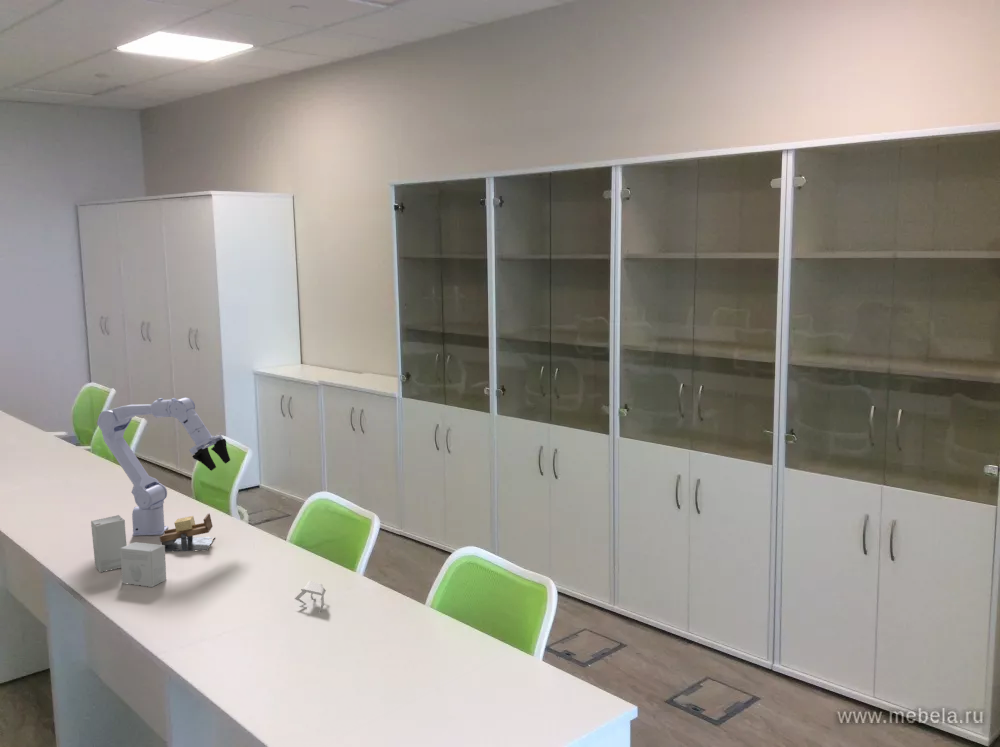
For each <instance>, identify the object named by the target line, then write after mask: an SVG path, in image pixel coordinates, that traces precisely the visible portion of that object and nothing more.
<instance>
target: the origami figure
mask: <svg viewBox="0 0 1000 747" xmlns="http://www.w3.org/2000/svg"><path fill="white" fill-rule="evenodd" d="M300 590H301V592H300V593H298V594H297V596H295V597H294V600H296V601H298V602H300V603H301V605H300V606H299V608H303V607H305V606H306V605H307V603H306V602H305V601H303V600H302V599H300V598H301V597H303V596H304V595H305V594H306V593H309V594H310V598H311V597H313V595H317V596H321V598H320V600H321V604H320V608H319V610H318V612H319V613H321V611H323V608H324V606H325V597H324V595H325V593H326V591H327V589H325V588H324V586H323V584H322V583H318V582H315V581H311V580H309V581H308V582H307V583H306V585H305V586H304V587H303V588H301V589H300Z"/></svg>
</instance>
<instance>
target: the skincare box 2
mask: <svg viewBox="0 0 1000 747" xmlns="http://www.w3.org/2000/svg"><path fill="white" fill-rule="evenodd" d="M120 553H121V568H120V569H121V584H122V583H128V584H127V585H131V584H134V585H133V586H139V585H141V587H147V586H148V587H150V588H154V587H155V586H157V585H159V584H160V583H163V582H164V581H166V580H167V567H166V552H165V545H162V544H156V543H148V542H147V543H146V542H138V541H134V542H132V543H129V544H127V546H124V547H122V548H120ZM148 587H147V588H148Z"/></svg>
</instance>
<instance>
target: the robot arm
mask: <svg viewBox="0 0 1000 747" xmlns="http://www.w3.org/2000/svg"><path fill="white" fill-rule="evenodd" d="M195 409H196V405H195V402H194V401H193V399H192V398H189V397H185V396H184V397H181V398H179V399H177V398H176V397H172V398H170V399H164V398H163V397H160V398H157V399H156V400H154V401H153V402H152V403H151V404H147V403H146V404H145V403H144V404H143V403H142V404H128V405H121V406H118V407H115V408H111V409H108V410H103V411H101V412H100V413H99V415H98V418H97V422H96V424H97V426H98V428H99V429H100V430H101V434H102V439H103V441H104V442H105V445H106V446H107V447H108V449H109V450H110V452H111V454H112V455H113V456H114V458H115V459H116V461H117V462H118V465H120V467H121V468H122V470H123V471H124V473H125V474H126V476H127V477H128V479H129V481H131V483H132V485H133V487H132V489H131V493H132V495H133V498H134V502H135V504H136V506H134V508H132V514H131V515H132V517H131V518H132V536H163V535H164V534H165V533H164V531H165V530H168V529H169V526H168V525H165V514H164V512H165V510H164V503H165V501H164V500H166V499H167V497H168V490H167V488H166V486H165V485H164V484H162V483H160V481H159V480H158V479H157V478H156V477H153V476H150V475H149V473H148V472H147V470H146V469H145V468H144V466H143V465H142V463H141V461H140V460H139V458H138V457H137V455H136V454H135V453H134V451H133V450H132V449H131V447H130V445H129V443H128V442H127V441H126V440H125V437H124V436H125V432H126V431H127V428H128V427H129V425H130V423H131V422H132V419H133V418H135V417H136V416H145V415H152V416H153V417H155V418H156V419H157V418H174V419H177V421H178V422H179V423H181V425H182V426H183V428H184V429H185V431H186V432H187V434H188V436H189V437H190V438H191V440H192V441H193V443H194V446H192V447H191V448H189V450H188V451H189V452H190V453H191V456H192V458H193V459H194V460H196V461H198V462H200V463H201V464H202V465H204V466H205V467H206V468H207V469H208V470H209V471H211V472H212V471H213V470H215V469H216V468H217V466H216V463H215V462H214V460H213V458H212V457H211V454H210V451H209V447H211V451H213V452H214V453H215V454H216V455H217V456H218V457H219V458H220V460H221V461H222V462H223V463H224V464H228V463H229V462H230V461H231V457H230V455H229V451H228V448H227V440H226V438H224V437H223V436H222V434H219V435H212V433H211V431H209V429H208V428H207V426H206V425H205V424H204V421H203V420H202V419H201V417H200V416H199V414H198V413H197V411H196V410H195ZM212 446H213V447H212Z"/></svg>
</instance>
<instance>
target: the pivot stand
mask: <svg viewBox="0 0 1000 747" xmlns="http://www.w3.org/2000/svg"><path fill="white" fill-rule="evenodd" d="M210 537H211V536H199V537H198V536H197V537H194V536H189V537H187V534H181V538H179V539H177V540H176V541H175V542H174V544H170V545H165V553H166V552H167V553H168V552H170V553H172V551H174V552H196V551H195V550H205V551H208V550H209V548H210V547H211V545H212V544H211V543H213V542H212V540H209V539H212V538H210ZM210 544H211V545H210ZM209 546H210V547H209ZM208 547H209V548H208ZM207 549H208V550H207Z"/></svg>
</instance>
